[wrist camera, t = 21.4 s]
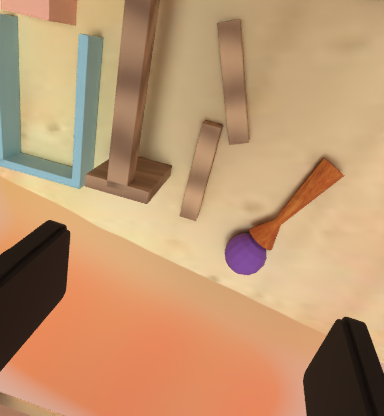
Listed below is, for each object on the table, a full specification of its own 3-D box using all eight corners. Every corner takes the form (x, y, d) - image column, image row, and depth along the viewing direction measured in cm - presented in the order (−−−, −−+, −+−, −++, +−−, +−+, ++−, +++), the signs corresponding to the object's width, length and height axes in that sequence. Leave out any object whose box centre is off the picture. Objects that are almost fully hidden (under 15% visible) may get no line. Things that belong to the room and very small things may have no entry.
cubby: (9, 15, 44) (-14, 11, 40) (103, 37, 43) (88, 35, 39) (14, 157, 53) (-4, 165, 49) (92, 179, 52) (79, 189, 48)
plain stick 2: (219, 25, 40) (217, 23, 37) (240, 21, 39) (239, 19, 37) (230, 140, 45) (229, 144, 43) (249, 138, 44) (248, 142, 42)
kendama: (359, 189, 40) (250, 289, 48) (340, 171, 46) (244, 264, 53) (326, 161, 39) (218, 269, 46) (310, 146, 44) (215, 245, 51)
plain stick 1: (205, 119, 45) (202, 123, 42) (223, 124, 44) (221, 128, 42) (183, 209, 51) (179, 216, 49) (198, 213, 51) (195, 221, 48)
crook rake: (145, -68, 37) (104, -110, 28) (213, -53, 36) (195, -92, 27) (119, 161, 49) (84, 186, 40) (170, 175, 49) (147, 204, 39)
